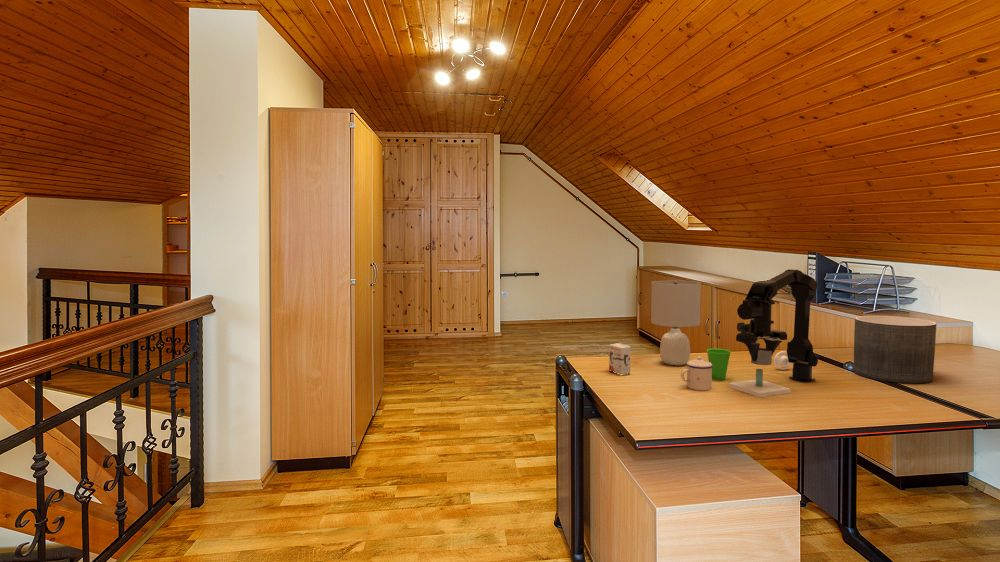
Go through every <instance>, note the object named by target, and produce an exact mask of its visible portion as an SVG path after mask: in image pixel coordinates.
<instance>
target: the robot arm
mask: <svg viewBox="0 0 1000 562" xmlns="http://www.w3.org/2000/svg"><path fill="white" fill-rule="evenodd" d="M818 285H819V283H818V282H817V280H815V278H814V277H812V276H811V275H808V274H805V273H804V272H803V271H802V270H799V269H789V268H788V269H786V270H785V271H784V272H782V273H780V274H778V275H776V276H774V277H772V278H770V279H768V280H758V281H755V282H753V283H752V284H751V286H750V288H749V290H748V292H747V294H746V296H745V299H743V300H742V303H741V304H740V305H739V306H737V309H736V311H737V312H736V313H737V316H738V317H739V318H740V319H741V320H749V323H745V322H738V323H736V330H737V332H738V333H737V334H736V336H735V341H736V342H738V343H742V344H744V345H745V346H746V347H747V349H748V353H749V355H750V359H751V358H752V361H756V358H757V354H758V350H759V348H760V345H761V343H759V342H758V340H762V341H763V342H764V343H765V348H768V349H771V350H772V356H773V355H774V352H775V351H776V350H777V348H778V347H779V346H780V344H781V343H782V342H783V341H787V340H788V334H787V332H786V331H783V330H776V329H772V324H773V325H774V324H775V323H774V322H775V321H774V320H772V305H775V304H776V303H775V301H774V300H773V299H774V297H776V296H777V295H778V291H779V290H781V289H783V288H785V287H788V286H789V287H790V293H791V295H792V297H793V298H794V300H795V304H794V305H795V306H794V307H795V308H794V320H793V321H794V323H793V325H794V326H793V337H792V338H791V340H790V341H788V342H787V343H786V345H787V346H786V352H787V354H786V355H787V356H786V357H787V358H788V361H789V362H788V363H791V364H792V374H791V375H792V376H789V379H791V380H795V381H798V382H802V383H806V382H813V381H816V378H813V376H812V375H813V367H817V365H818V363H819V359H818V357H817V355H816V354H815V353H814V350H813V349H814V347H813V344H812V342H811V340H810V338H809V335H810V334H809V333H810V331H809V330H810V314H811V312H810V311H811V301H812V300H813V299H814V297H815V296H816V295H817V289H818ZM739 332H740V333H739Z"/></svg>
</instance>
